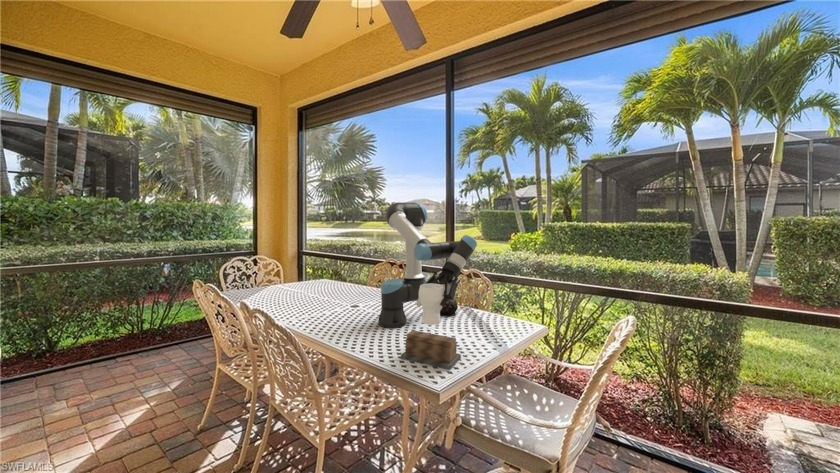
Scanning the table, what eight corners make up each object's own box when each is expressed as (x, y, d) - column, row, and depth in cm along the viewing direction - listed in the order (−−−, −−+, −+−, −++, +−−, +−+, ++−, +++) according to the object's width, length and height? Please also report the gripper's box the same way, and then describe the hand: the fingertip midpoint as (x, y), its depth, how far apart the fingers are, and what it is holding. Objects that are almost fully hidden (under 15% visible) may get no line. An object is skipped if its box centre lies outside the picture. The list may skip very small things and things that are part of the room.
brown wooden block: (400, 358, 145) (400, 336, 144) (414, 347, 156) (414, 327, 155) (450, 369, 135) (450, 346, 134) (460, 357, 146) (461, 335, 145)
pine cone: (427, 310, 210) (427, 294, 209) (457, 311, 208) (457, 295, 207) (426, 316, 199) (426, 299, 198) (458, 317, 198) (458, 300, 197)
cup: (442, 327, 138) (442, 289, 136) (416, 325, 140) (416, 288, 138) (445, 318, 148) (445, 283, 147) (421, 316, 150) (421, 282, 149)
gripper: (478, 275, 143) (451, 320, 135) (439, 267, 161) (413, 307, 152) (469, 264, 139) (441, 310, 131) (431, 257, 157) (403, 297, 148)
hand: (426, 308), depth 142 cm, fingers closed on cup, 11 cm apart
